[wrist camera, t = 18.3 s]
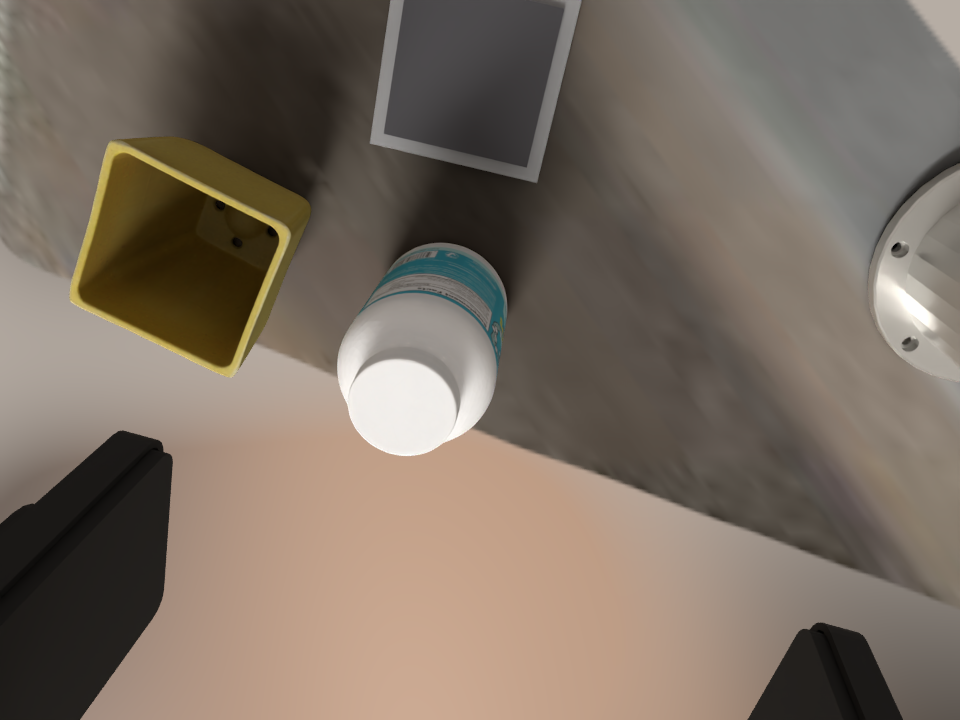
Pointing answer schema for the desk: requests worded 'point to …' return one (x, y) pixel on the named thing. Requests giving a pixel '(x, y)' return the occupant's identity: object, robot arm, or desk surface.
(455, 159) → the ink pad
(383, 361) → the pill bottle
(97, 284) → the flower pot
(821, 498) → the desk surface
